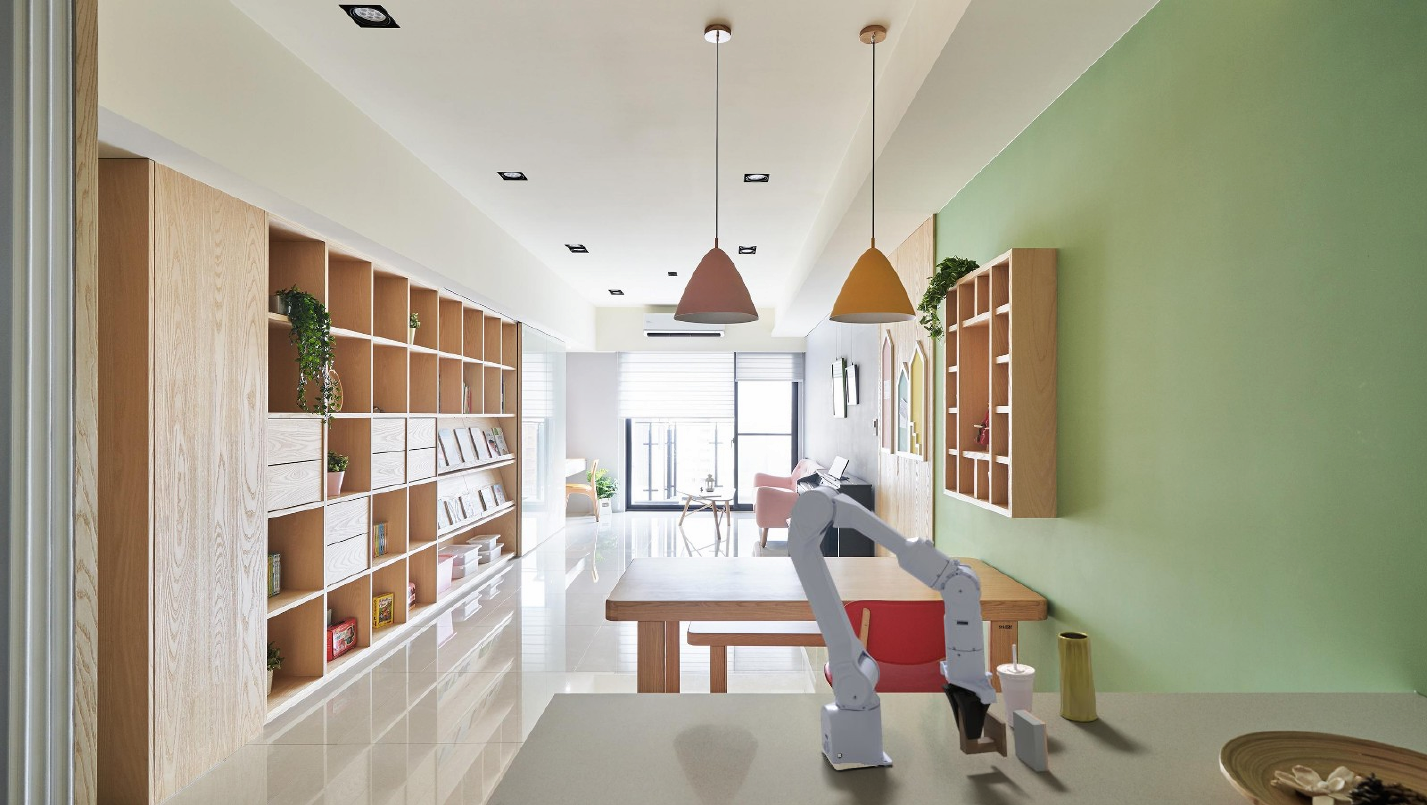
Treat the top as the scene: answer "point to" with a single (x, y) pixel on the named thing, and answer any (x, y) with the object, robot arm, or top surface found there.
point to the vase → (1076, 677)
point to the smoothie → (1016, 686)
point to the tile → (1030, 740)
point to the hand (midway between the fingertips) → (969, 734)
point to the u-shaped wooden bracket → (985, 737)
